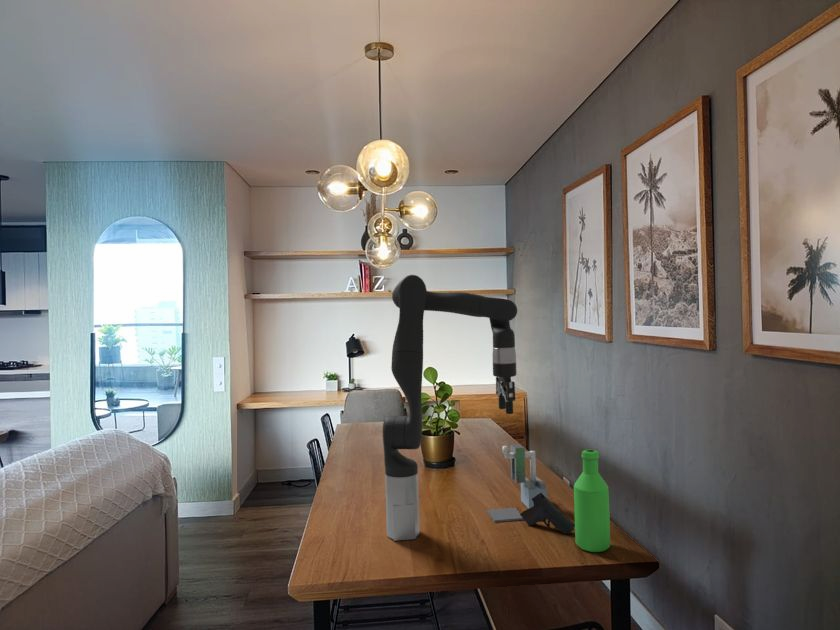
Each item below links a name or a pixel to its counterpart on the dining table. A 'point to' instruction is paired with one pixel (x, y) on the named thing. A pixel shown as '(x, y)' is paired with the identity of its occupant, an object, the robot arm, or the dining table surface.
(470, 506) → the dining table surface
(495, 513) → the mat
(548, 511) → the handgun
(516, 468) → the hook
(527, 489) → the grey hanging stand
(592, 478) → the bottle
